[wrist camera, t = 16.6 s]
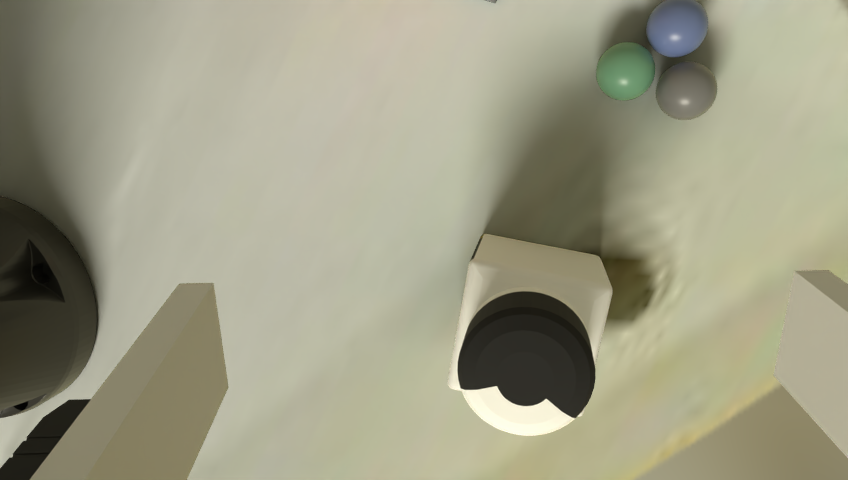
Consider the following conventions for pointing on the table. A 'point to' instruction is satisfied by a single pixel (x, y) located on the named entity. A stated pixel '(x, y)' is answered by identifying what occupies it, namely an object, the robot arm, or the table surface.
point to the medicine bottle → (529, 334)
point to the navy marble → (677, 27)
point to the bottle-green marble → (625, 71)
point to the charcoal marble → (686, 90)
